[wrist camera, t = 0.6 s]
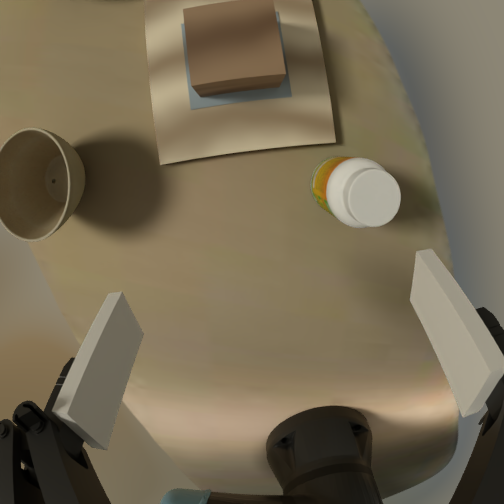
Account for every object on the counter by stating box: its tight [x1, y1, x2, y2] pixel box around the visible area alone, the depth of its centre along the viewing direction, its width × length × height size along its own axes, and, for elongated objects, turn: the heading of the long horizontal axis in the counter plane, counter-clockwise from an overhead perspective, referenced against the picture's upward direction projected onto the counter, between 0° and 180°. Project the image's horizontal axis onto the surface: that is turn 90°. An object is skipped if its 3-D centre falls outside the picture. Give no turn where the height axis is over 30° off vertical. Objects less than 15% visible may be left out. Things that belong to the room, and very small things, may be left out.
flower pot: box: [0, 127, 86, 242], centre depth 25 cm, size 10×10×7 cm
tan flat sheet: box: [144, 0, 336, 165], centre depth 25 cm, size 18×16×1 cm
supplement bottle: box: [311, 157, 401, 228], centre depth 25 cm, size 5×5×10 cm
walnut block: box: [183, 0, 286, 97], centre depth 22 cm, size 7×7×5 cm
